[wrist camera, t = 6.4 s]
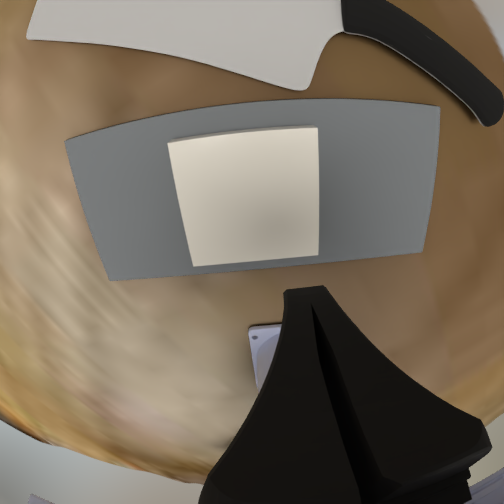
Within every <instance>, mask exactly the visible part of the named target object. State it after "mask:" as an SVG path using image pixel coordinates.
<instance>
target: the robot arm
mask: <svg viewBox="0 0 504 504" xmlns="http://www.w3.org/2000/svg"><path fill="white" fill-rule="evenodd" d="M283 294H284V313H283V320H282V324H277V325H266V326H254V327H251V328H249V330H248V335H249V341H250V347H251V354H252V360H253V366H254V372H255V379H256V385H257V388H258V396H257V398H256V400H255V402H254V405H253V407H252V408H251V410H250V412H249V414H248V416H247V418H246V419H245V421H244V423H243V424H242V426H241V428H240V429H239V431H238V433H237V434H236V436H235V438H234V439H233V441H232V442H231V444H230V445H229V447H228V448H227V450H226V451H225V452H224V454H223V455H222V457H221V458H220V459H219V461H218V462H217V463H216V465H215V466H214V467H213V469H212V470H211V471H210V473H209V474H208V476H207V479H206V481H205V484H204V486H203V489H202V491H201V495H200V498H199V502H198V504H504V467H503V468H502V469H500V470H499V471H497V472H496V473H494V474H492V475H490V476H489V477H487V478H485V479H483V480H482V481H480V482H478V483H476V484H474V485H472V486H470V487H469V486H468V482H467V479H469V478H470V477H471V475H470V471H469V467H470V466H472V465H473V464H475V463H476V462H477V461H479V460H480V459H481V458H483V457H484V456H485V455H487V454H488V453H489V452H490V451H491V449H492V445H491V442H490V439H489V436H488V434H487V431H486V429H485V427H484V425H483V423H482V421H481V420H480V419H478V418H476V417H474V416H472V415H470V414H468V413H466V412H464V411H462V410H460V409H458V408H456V407H454V406H452V405H450V404H449V403H447V402H446V401H444V400H442V399H441V398H439V397H437V396H436V395H434V394H433V393H431V392H430V391H429V390H427V389H426V388H424V387H423V386H422V385H420V384H419V383H417V382H416V381H414V380H413V379H412V378H410V377H409V376H408V375H407V374H405V373H404V372H403V371H402V370H401V369H399V368H398V367H397V366H396V365H395V364H394V363H392V362H391V361H390V360H389V359H388V358H387V357H386V356H385V355H384V354H382V353H381V352H380V351H379V350H378V349H377V348H376V347H375V346H374V345H373V344H372V343H371V342H370V341H369V340H368V338H367V337H366V336H365V335H364V334H363V333H362V332H361V331H360V330H359V329H358V327H357V326H356V325H355V324H354V323H353V322H352V321H351V319H350V318H349V317H348V316H347V315H346V313H345V312H344V311H343V310H342V308H341V307H340V306H339V305H338V303H337V302H336V301H335V299H334V298H333V297H332V295H331V294H330V293H329V291H328V290H327V288H326V287H324V286H323V285H322V286H314V287H305V288H296V289H287V290H286V291H285V292H284V293H283ZM28 504H54V503H52V502H49V501H47V500H44V499H42V498H40V497H38V496H36V495H33V494H30V497H29V501H28Z"/></svg>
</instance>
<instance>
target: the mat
mask: <svg viewBox="0 0 504 504" xmlns="http://www.w3.org/2000/svg"><path fill="white" fill-rule="evenodd" d="M302 125H314V126H316V127H317V128H318V152H319V250H318V255H314V256H304V257H293V258H283V259H272V260H261V261H250V262H239V263H228V264H217V265H205V266H194V267H193V263H192V259H191V255H190V250H189V246H188V242H187V237H186V233H185V229H184V224H183V220H182V215H181V210H180V206H179V201H178V196H177V191H176V186H175V181H174V176H173V171H172V166H171V160H170V155H169V149H168V144H167V143H168V142H169V141H171V140H172V139H178V138H184V137H191V136H197V135H204V134H212V133H219V132H228V131H236V130H246V129H257V128H269V127H283V126H302ZM439 128H440V107H439V106H434V105H427V104H419V103H410V102H399V101H387V100H372V99H344V98H312V99H284V100H268V101H255V102H245V103H235V104H226V105H218V106H211V107H204V108H197V109H191V110H185V111H179V112H174V113H168V114H163V115H158V116H153V117H149V118H144V119H140V120H135V121H131V122H127V123H123V124H119V125H115V126H111V127H107V128H104V129H100V130H97V131H93V132H90V133H86V134H83V135H80V136H77V137H74V138H71V139H68V140H66V141H64V142H65V146H66V150H67V154H68V158H69V162H70V166H71V170H72V174H73V177H74V181H75V184H76V188H77V191H78V194H79V198H80V201H81V204H82V207H83V210H84V213H85V216H86V219H87V222H88V225H89V228H90V231H91V234H92V237H93V239H94V242H95V245H96V248H97V250H98V253H99V255H100V258H101V261H102V263H103V266H104V268H105V271H106V273H107V275H108V278H109V280H110V281H118V280H132V279H146V278H159V277H172V276H184V275H197V274H209V273H220V272H232V271H243V270H254V269H265V268H276V267H287V266H297V265H307V264H317V263H327V262H337V261H347V260H356V259H366V258H375V257H384V256H393V255H402V254H411V253H419V252H422V250H423V246H424V241H425V236H426V231H427V226H428V221H429V215H430V209H431V203H432V197H433V190H434V182H435V174H436V165H437V155H438V143H439Z"/></svg>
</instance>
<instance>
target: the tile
mask: <svg viewBox="0 0 504 504" xmlns="http://www.w3.org/2000/svg"><path fill="white" fill-rule="evenodd" d="M167 144H168V149H169V155H170V160H171V166H172V171H173V176H174V181H175V186H176V191H177V196H178V201H179V206H180V210H181V215H182V220H183V224H184V229H185V233H186V237H187V242H188V246H189V250H190V255H191V259H192V263H193V267H194V266H205V265H217V264H228V263H239V262H250V261H261V260H272V259H283V258H293V257H304V256H314V255H318V250H319V152H318V128H317V127H316V126H314V125H302V126H283V127H269V128H257V129H246V130H236V131H228V132H219V133H212V134H204V135H197V136H191V137H184V138H178V139H172V140H171V141H169V142H168V143H167Z"/></svg>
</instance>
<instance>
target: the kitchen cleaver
mask: <svg viewBox="0 0 504 504" xmlns="http://www.w3.org/2000/svg"><path fill="white" fill-rule="evenodd" d="M342 31H344V32H345V33H348V34H356V35H362V36H366V37H369V38H372V39H374V40H376V41H379V42H381V43H383V44H384V45H386V46H388V47H390V48H392V49H393V50H395V51H397V52H398V53H400V54H401V55H403V56H404V57H406V58H407V59H409V60H410V61H412V62H413V63H415V64H416V65H418V66H419V67H420V68H422V69H423V70H425V71H426V72H427V73H429V74H430V75H431V76H433V77H434V78H435V79H436V80H438V81H439V82H440V83H442V84H443V85H444V86H445V87H446V88H448V89H449V90H450V91H451V92H452V93H454V94H455V95H456V96H457V97H458V98H459V99H460V100H462V101H463V102H464V103H465V104H466V105H467V106H468V107H469V108H470V110H471V111H472V112H473V114H474V115H475V116H476V118H477V119H478V121H479V122H480V123H481V124H482V125H483V126H487V127H489V126H492V125H494V124H496V123H497V122H498V121H499V120H500V119H501V117H502V115H503V112H504V99H503V95H502V93H501V91H500V90H499V89H498V88H497V87H496V86H495V85H494V84H493V83H492V82H491V81H490V80H488V79H487V78H486V77H485V76H484V75H483V74H482V73H481V72H480V71H479V70H478V69H477V68H476V67H475V66H474V65H473V64H471V63H470V62H469V61H468V60H467V59H466V58H465V57H464V56H462V55H461V54H460V53H459V52H458V51H456V50H455V49H454V48H453V47H452V46H450V45H449V44H448V43H447V42H445V41H444V40H443V39H442V38H440V37H439V36H438V35H436V34H435V33H434V32H432V31H431V30H430V29H428V28H427V27H426V26H424V25H423V24H422V23H420V22H419V21H417V20H416V19H414V18H413V17H412V16H410V15H409V14H407V13H406V12H404V11H402V10H401V9H399V8H398V7H396V6H394V5H393V4H391V3H389V2H388V1H386V0H37V3H36V6H35V9H34V12H33V15H32V18H31V21H30V24H29V27H28V30H27V35H26V36H27V39H29V40H52V41H66V42H82V43H95V44H104V45H113V46H120V47H127V48H134V49H140V50H146V51H152V52H158V53H163V54H168V55H173V56H177V57H182V58H186V59H190V60H194V61H198V62H201V63H205V64H209V65H212V66H216V67H219V68H222V69H226V70H229V71H232V72H236V73H239V74H242V75H245V76H248V77H252V78H255V79H258V80H261V81H264V82H267V83H271V84H274V85H277V86H281V87H284V88H288V89H292V90H305V89H307V88H308V87H309V85H310V82H311V80H312V77H313V74H314V71H315V68H316V65H317V62H318V59H319V57H320V54H321V52H322V50H323V48H324V46H325V44H326V43H327V41H328V40H329V39H330V38H331V37H332V36H333V35H335V34H337V33H339V32H342Z"/></svg>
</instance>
